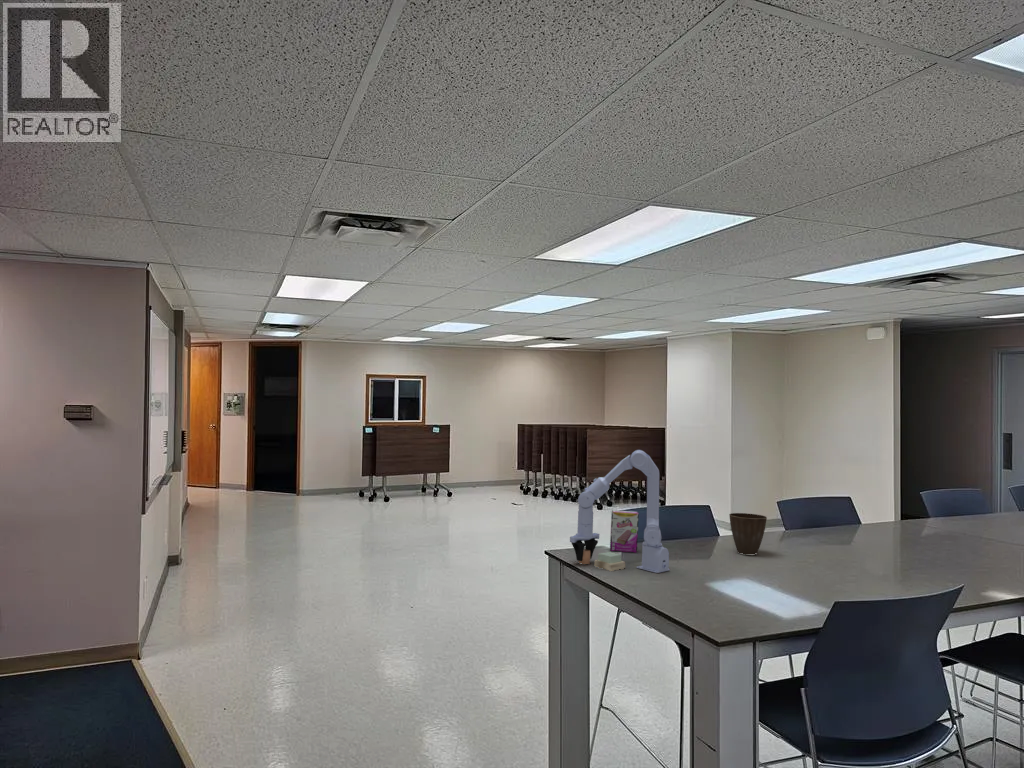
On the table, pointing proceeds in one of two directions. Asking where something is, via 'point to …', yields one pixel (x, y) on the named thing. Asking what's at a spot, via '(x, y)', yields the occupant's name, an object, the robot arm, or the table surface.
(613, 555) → the tower top
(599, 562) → the tower base
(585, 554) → the terracotta cylinder
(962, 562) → the table surface
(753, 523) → the plant pot
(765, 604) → the table surface
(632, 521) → the candy bar box
